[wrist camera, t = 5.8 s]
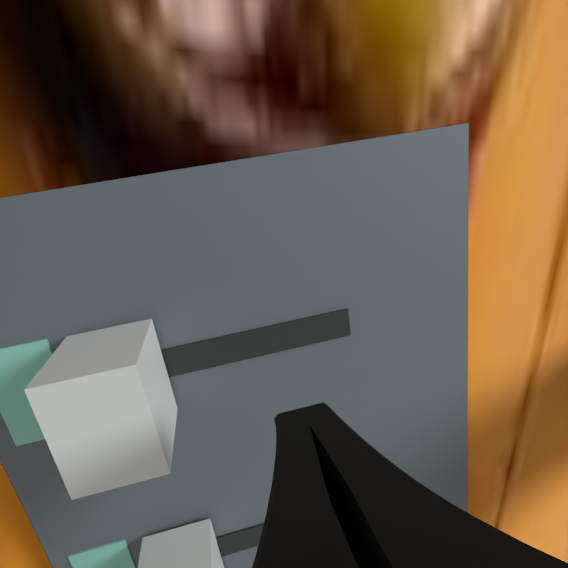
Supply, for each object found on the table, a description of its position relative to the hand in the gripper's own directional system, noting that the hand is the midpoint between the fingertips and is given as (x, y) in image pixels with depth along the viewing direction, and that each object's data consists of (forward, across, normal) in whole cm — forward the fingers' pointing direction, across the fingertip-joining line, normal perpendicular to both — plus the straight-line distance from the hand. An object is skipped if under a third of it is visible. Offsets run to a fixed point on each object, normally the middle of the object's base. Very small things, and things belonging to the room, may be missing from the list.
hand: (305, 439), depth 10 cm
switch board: (+7, +1, +5) cm, 9 cm away
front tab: (+6, +6, 0) cm, 8 cm away
